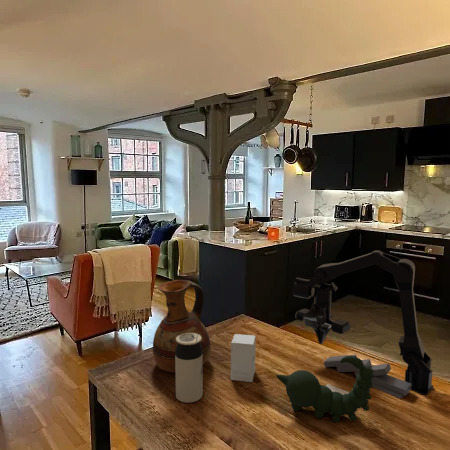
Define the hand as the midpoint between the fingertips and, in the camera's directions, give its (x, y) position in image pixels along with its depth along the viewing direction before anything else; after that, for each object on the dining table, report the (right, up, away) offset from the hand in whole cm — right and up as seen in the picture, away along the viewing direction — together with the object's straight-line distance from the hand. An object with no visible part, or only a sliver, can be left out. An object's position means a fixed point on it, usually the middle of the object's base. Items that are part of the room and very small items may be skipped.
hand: (320, 343), depth 127 cm
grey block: (+14, -6, -13) cm, 20 cm away
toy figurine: (-7, -10, -28) cm, 31 cm away
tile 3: (+10, -7, -9) cm, 15 cm away
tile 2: (+5, -6, -5) cm, 9 cm away
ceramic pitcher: (-49, -7, -1) cm, 49 cm away
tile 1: (+2, -6, -1) cm, 6 cm away
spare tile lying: (0, -10, -21) cm, 23 cm away
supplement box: (-28, -8, -9) cm, 30 cm away
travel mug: (-45, -9, -20) cm, 50 cm away
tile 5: (+13, -8, -12) cm, 20 cm away
